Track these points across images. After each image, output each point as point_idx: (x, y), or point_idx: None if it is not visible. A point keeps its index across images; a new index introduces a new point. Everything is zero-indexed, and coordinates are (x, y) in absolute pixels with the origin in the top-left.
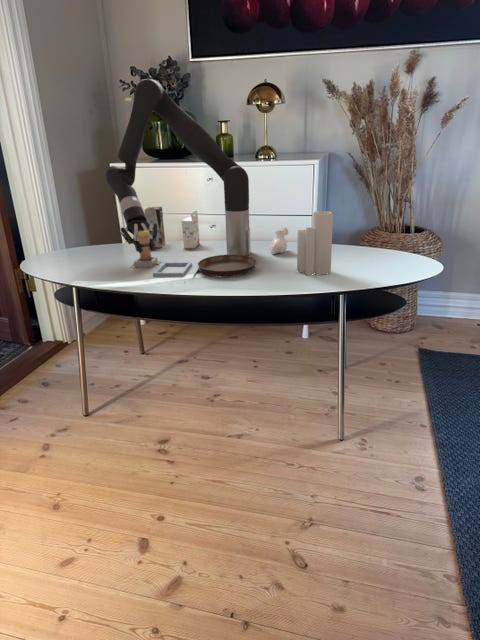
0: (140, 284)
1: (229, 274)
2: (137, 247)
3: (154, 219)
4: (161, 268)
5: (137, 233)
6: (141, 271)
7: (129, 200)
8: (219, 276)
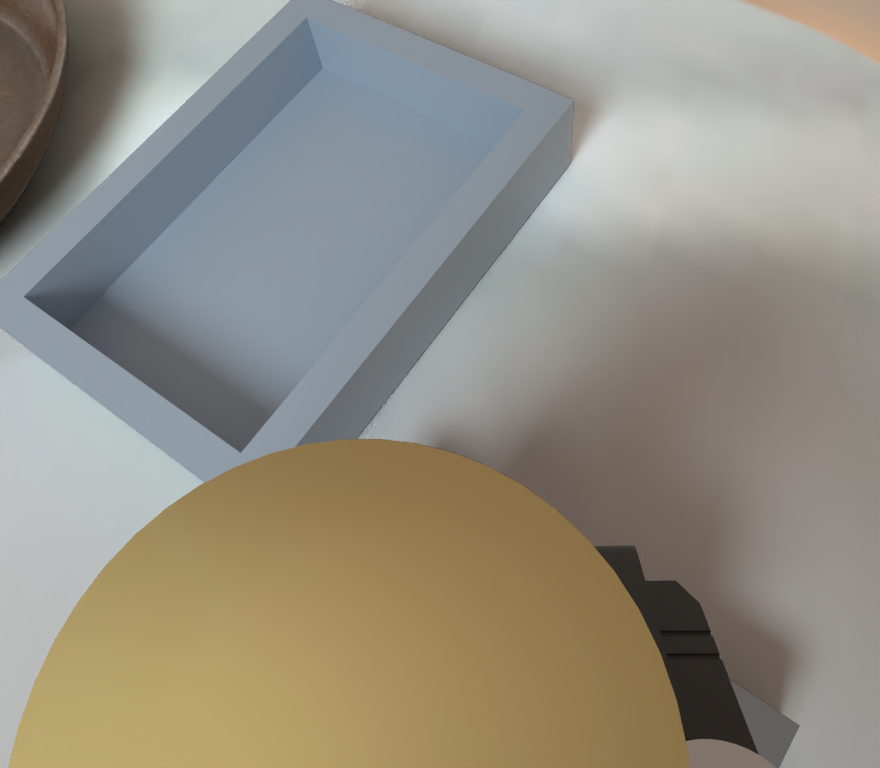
0: (727, 115)
1: None
2: (678, 614)
3: None
4: (399, 272)
5: (677, 745)
6: None
7: None
8: (26, 36)
